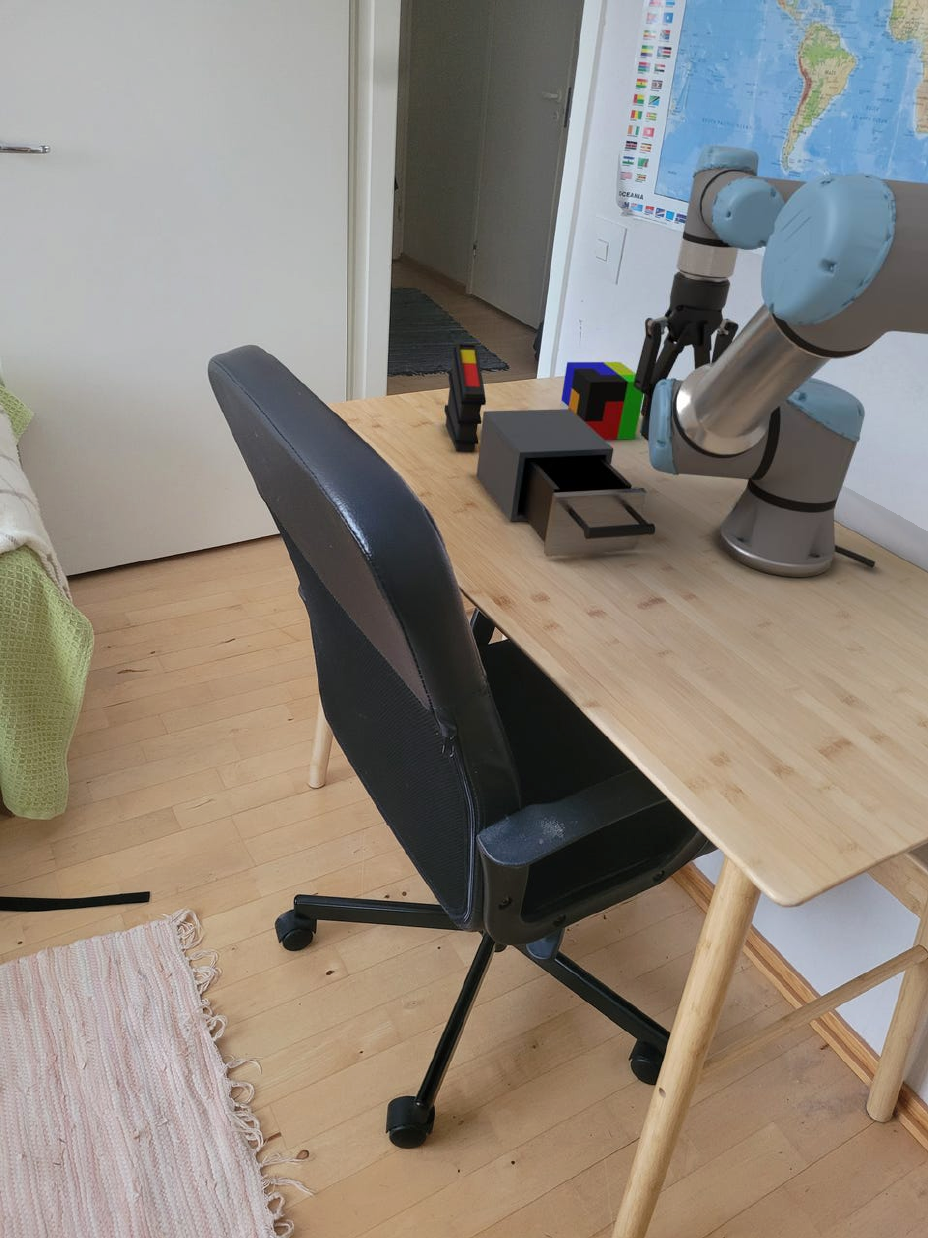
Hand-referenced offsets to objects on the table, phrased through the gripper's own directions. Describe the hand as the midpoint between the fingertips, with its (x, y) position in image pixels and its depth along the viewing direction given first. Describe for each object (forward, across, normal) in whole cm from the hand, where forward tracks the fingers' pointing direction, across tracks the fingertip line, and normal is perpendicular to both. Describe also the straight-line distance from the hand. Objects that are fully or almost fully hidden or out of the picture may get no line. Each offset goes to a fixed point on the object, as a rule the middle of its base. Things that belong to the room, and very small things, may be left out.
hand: (667, 437), depth 140 cm
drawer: (+8, +19, +15) cm, 26 cm away
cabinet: (+9, +19, 0) cm, 21 cm away
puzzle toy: (+8, -2, -25) cm, 26 cm away
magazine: (+9, +24, -21) cm, 33 cm away
